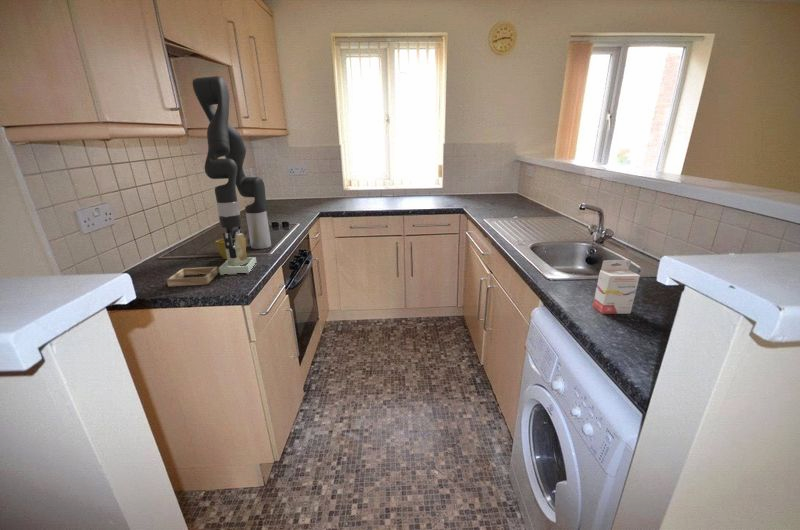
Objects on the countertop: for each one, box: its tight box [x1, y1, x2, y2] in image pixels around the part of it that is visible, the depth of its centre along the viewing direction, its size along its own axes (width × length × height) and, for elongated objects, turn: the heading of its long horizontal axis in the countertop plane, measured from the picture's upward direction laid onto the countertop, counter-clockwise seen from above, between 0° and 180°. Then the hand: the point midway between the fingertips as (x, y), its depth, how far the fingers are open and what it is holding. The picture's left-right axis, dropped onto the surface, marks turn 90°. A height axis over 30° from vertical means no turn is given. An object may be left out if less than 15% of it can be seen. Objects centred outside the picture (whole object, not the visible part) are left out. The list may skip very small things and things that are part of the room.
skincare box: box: [222, 232, 248, 266], centre depth 134 cm, size 6×4×12 cm
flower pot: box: [214, 237, 247, 260], centre depth 147 cm, size 9×9×9 cm
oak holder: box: [166, 266, 220, 287], centre depth 126 cm, size 12×13×2 cm
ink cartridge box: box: [592, 259, 641, 315], centre depth 96 cm, size 9×5×15 cm, turn 92°
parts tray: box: [218, 256, 257, 276], centre depth 136 cm, size 12×11×3 cm
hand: (236, 254), depth 135 cm, fingers closed on skincare box, 7 cm apart
